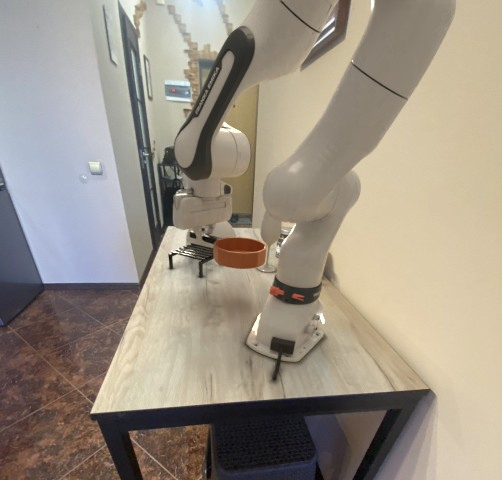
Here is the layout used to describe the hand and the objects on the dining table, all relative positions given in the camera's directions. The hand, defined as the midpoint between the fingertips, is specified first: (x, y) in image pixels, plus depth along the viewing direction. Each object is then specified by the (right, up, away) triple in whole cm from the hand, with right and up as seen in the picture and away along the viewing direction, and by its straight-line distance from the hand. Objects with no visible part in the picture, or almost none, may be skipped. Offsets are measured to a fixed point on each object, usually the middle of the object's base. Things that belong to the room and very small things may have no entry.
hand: (204, 240), depth 83 cm
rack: (-7, -1, +27) cm, 28 cm away
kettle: (-5, +11, +45) cm, 47 cm away
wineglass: (+20, -1, +30) cm, 36 cm away
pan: (+6, -5, -2) cm, 8 cm away
